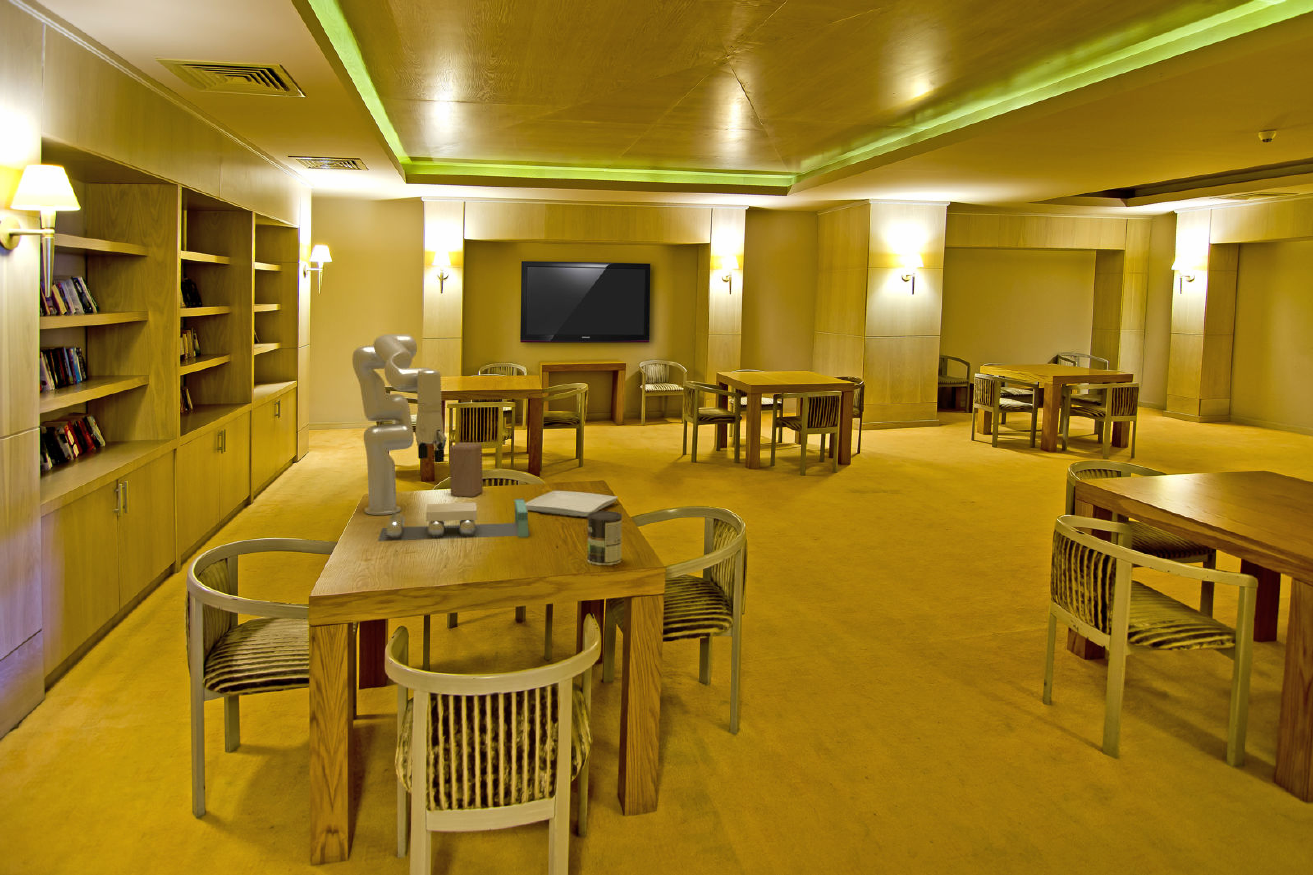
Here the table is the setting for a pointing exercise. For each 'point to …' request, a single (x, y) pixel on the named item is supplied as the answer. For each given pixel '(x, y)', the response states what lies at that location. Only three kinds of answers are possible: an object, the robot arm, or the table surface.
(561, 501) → the square plate
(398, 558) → the table surface
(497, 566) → the table surface
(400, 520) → the loose roller
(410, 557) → the table surface
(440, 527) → the roller
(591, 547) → the coffee can
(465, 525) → the roller
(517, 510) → the runway
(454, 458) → the wooden block
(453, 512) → the slab
